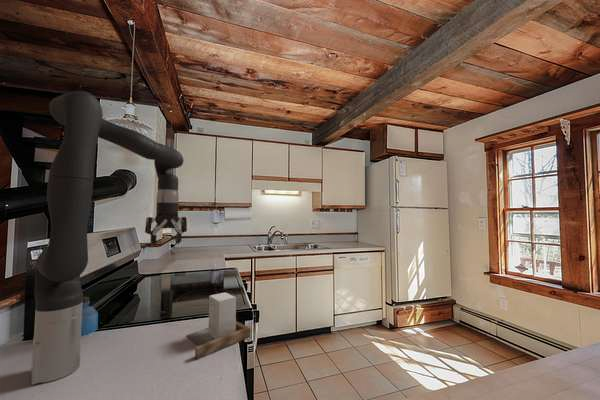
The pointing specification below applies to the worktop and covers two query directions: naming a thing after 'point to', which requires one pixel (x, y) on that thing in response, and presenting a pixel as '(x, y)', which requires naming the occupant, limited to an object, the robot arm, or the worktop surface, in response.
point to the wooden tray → (217, 340)
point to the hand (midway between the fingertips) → (166, 244)
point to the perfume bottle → (88, 318)
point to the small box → (222, 315)
